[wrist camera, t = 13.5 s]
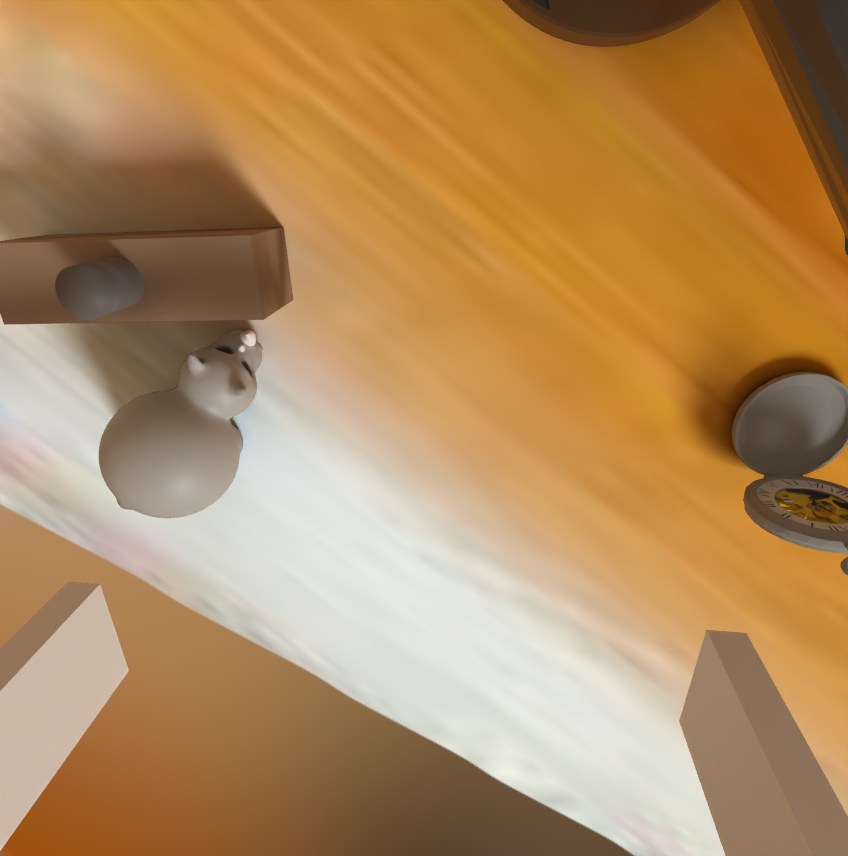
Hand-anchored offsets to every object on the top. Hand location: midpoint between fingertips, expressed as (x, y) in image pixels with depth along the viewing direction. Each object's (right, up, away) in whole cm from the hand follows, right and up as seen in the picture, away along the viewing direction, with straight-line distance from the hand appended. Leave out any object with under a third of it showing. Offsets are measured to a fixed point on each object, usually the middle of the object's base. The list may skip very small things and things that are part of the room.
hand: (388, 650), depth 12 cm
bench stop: (-14, +14, +20) cm, 28 cm away
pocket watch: (+22, +4, +21) cm, 31 cm away
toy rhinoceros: (-12, +7, +23) cm, 27 cm away
